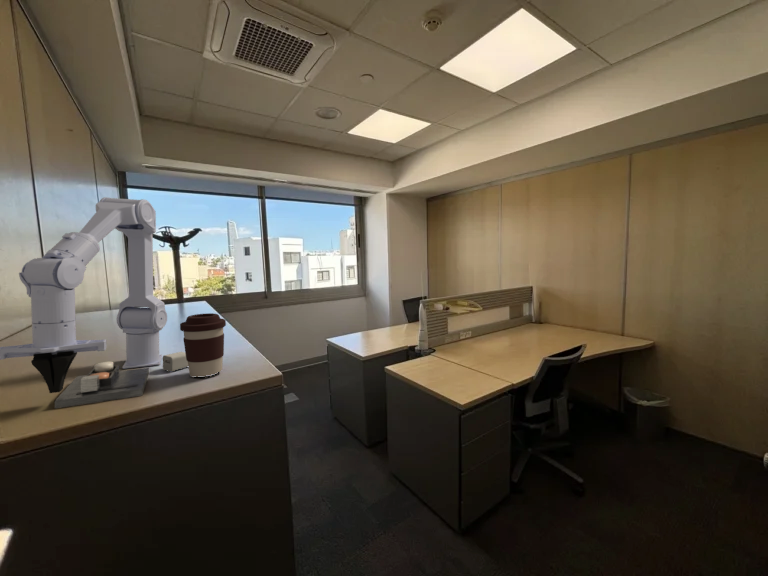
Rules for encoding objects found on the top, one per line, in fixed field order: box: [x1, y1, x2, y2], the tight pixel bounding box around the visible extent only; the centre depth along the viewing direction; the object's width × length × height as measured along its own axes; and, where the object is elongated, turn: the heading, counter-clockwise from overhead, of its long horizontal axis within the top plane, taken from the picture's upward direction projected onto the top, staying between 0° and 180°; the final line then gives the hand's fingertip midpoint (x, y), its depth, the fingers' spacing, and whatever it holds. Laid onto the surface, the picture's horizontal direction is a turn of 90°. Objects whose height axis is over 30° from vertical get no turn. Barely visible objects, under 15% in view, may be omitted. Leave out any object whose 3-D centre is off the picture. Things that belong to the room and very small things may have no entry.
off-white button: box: [94, 361, 114, 372], centre depth 71 cm, size 3×3×2 cm
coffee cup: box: [179, 312, 227, 377], centre depth 78 cm, size 10×10×15 cm
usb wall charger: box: [162, 351, 188, 372], centre depth 83 cm, size 4×7×4 cm, turn 156°
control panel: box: [54, 365, 150, 410], centre depth 68 cm, size 15×13×3 cm
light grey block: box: [81, 375, 99, 393], centre depth 62 cm, size 2×2×3 cm
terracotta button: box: [90, 372, 109, 379], centre depth 67 cm, size 3×3×2 cm
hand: (56, 390), depth 60 cm, fingers closed
